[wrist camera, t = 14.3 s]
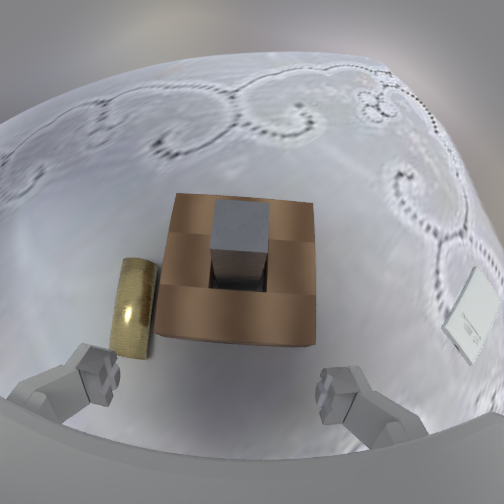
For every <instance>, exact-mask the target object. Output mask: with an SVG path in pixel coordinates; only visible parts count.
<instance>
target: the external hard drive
mask: <svg viewBox="0 0 504 504" xmlns="http://www.w3.org/2000/svg"><path fill="white" fill-rule="evenodd" d="M501 304H502V301H501V299H500V297H499V296H498V294H497V293H496V291H495V290H494V288H493V287H492V285H491V284H490V282H489V281H488V279H487V278H486V276H485V275H484V274H483V272H482V271H481V270H480V268H479V267H475V268H473V270H472V272H471V274H470V276H469V278H468V280H467V282H466V284H465V286H464V288H463V290H462V292H461V294H460V296H459V298H458V300H457V301H456V303H455V305H454V307H453V309H452V310H451V312H450V314H449V316H448V317H447V319H446V321H445V322H444V324H443V326H442V327H441V329H442V330H443V332H444V333H445V334H446V336H447V337H448V338H449V339H450V341H451V342H452V343H453V344H454V345H455V346H456V347H457V349H458V351H459V353H460V354H461V355H462V357H463V358H464V359H465V361H466V362H467V364H468V365H469V366H472V365H473V364H474V363H475V361H476V359H477V357H478V355H479V353H480V351H481V349H482V347H483V345H484V343H485V341H486V339H487V337H488V335H489V332H490V330H491V328H492V326H493V323H494V321H495V319H496V316H497V314H498V311H499V309H500V306H501Z"/></svg>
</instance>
